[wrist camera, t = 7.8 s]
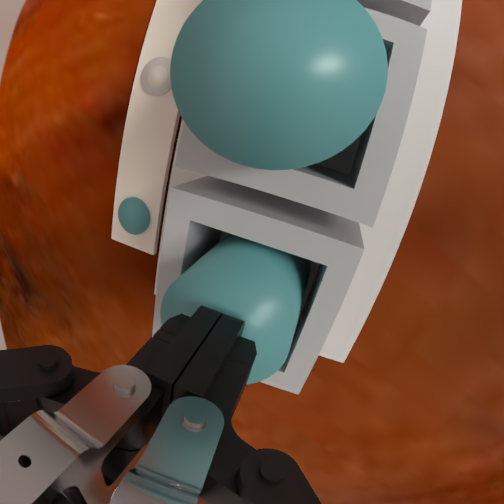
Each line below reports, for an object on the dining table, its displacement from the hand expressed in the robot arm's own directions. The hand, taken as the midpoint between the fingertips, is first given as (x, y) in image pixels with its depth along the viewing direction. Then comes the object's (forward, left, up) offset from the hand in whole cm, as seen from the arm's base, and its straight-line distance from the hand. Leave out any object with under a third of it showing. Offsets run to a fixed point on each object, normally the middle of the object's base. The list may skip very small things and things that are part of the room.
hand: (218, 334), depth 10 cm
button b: (0, -8, -4) cm, 9 cm away
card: (+8, -8, -7) cm, 13 cm away
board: (0, -8, -7) cm, 11 cm away
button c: (0, 0, -6) cm, 6 cm away
